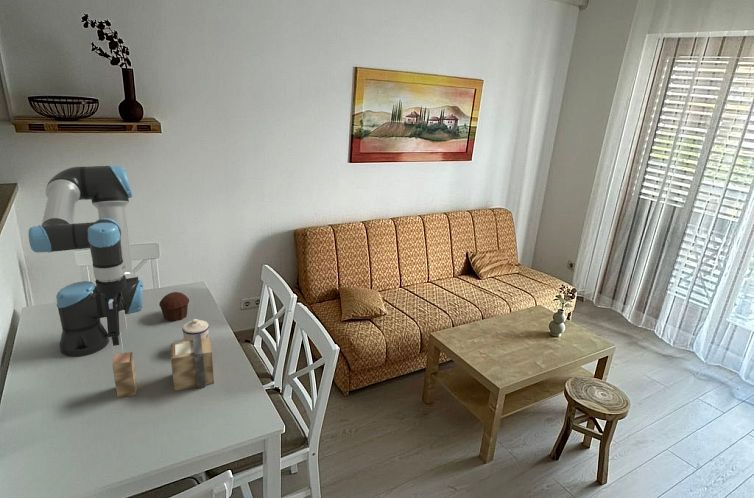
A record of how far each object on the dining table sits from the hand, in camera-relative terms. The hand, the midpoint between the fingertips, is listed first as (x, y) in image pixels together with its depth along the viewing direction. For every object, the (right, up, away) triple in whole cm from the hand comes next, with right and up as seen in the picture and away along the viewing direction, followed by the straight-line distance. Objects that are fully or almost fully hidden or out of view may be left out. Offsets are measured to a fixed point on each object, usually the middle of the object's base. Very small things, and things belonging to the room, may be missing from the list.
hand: (120, 340), depth 137 cm
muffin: (-6, 0, +51) cm, 51 cm away
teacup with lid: (+11, -8, +32) cm, 35 cm away
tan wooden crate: (+17, -15, +14) cm, 27 cm away
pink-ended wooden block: (-1, -17, +6) cm, 18 cm away
